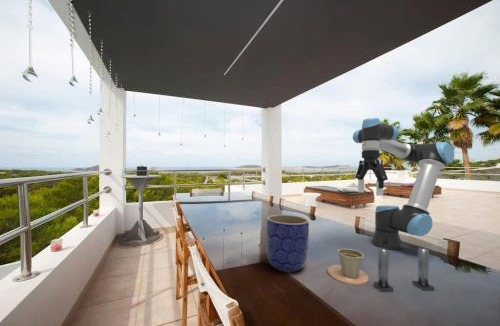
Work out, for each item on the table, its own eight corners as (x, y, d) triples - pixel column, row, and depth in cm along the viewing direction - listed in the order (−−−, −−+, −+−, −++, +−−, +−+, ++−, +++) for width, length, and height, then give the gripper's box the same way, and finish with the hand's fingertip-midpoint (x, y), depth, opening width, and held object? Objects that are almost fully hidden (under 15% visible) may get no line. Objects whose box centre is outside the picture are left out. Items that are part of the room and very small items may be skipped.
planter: (281, 280, 82) (282, 225, 83) (257, 261, 99) (258, 215, 99) (317, 271, 91) (318, 221, 91) (289, 255, 107) (291, 213, 108)
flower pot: (333, 269, 91) (333, 248, 91) (354, 269, 92) (354, 248, 92) (344, 281, 81) (345, 257, 82) (368, 280, 82) (369, 257, 82)
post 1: (384, 284, 81) (384, 247, 82) (393, 291, 77) (393, 251, 77) (373, 285, 81) (374, 247, 81) (381, 291, 77) (382, 251, 77)
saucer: (353, 266, 96) (353, 264, 96) (377, 284, 81) (377, 281, 81) (321, 267, 95) (321, 264, 95) (339, 285, 80) (339, 282, 80)
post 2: (423, 284, 83) (423, 246, 83) (434, 290, 79) (434, 251, 79) (412, 284, 83) (413, 246, 83) (423, 290, 78) (423, 251, 79)
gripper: (348, 151, 118) (348, 191, 117) (381, 147, 93) (380, 197, 92) (361, 152, 118) (361, 191, 118) (397, 148, 93) (397, 197, 93)
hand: (369, 194), depth 105 cm, fingers open, 13 cm apart
